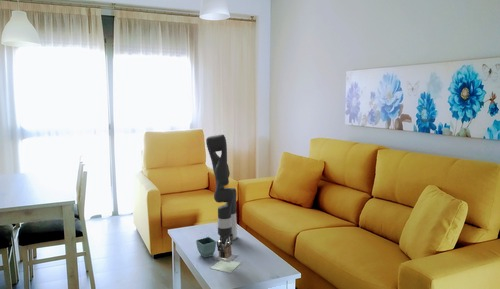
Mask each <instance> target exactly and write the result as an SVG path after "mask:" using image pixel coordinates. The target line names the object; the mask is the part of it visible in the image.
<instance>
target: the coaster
mask: <svg viewBox="0 0 500 289" xmlns="http://www.w3.org/2000/svg"><path fill="white" fill-rule="evenodd" d="M226 261H227V260H224V259H222V260H220V261H217V263H215V264H214V265H213V266H211V267H210V269H211V270H216V271H220V272H223V273H224V272H225V273H228V274H231V273H232V272H233V271H234V270H235V269H237V268H238V267H239V266H240V265H241V264H242V263H241V262H239V261H238V262H237V261H234V260H232V261H230V262H226ZM228 261H229V260H228Z"/></svg>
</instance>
